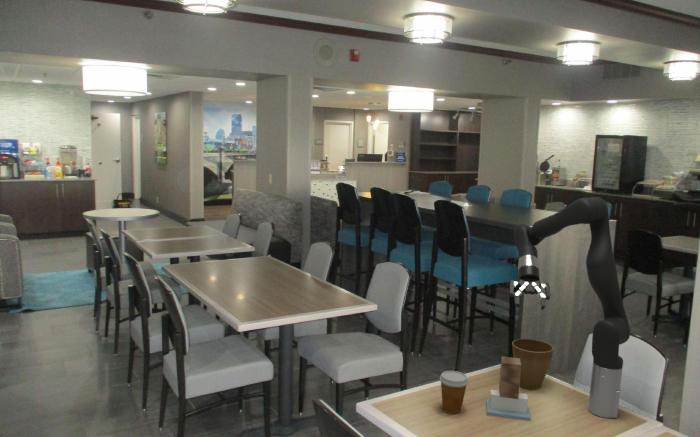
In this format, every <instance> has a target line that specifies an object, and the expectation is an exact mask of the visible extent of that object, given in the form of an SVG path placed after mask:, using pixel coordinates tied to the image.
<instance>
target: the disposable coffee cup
mask: <svg viewBox="0 0 700 437" xmlns="http://www.w3.org/2000/svg"><path fill="white" fill-rule="evenodd" d="M439 381H440V385H441V386H440V387H441V389H440V390H441V404H442V405H441V406H442V411H444V412H446V413H449V414H459V413H461V412H462V408H463V403H464V400H465V394H466V388H467V385H468V384H469V379H468V376H467V375H466V374H464V373H463V372H461V371H457V370H456V371H455V370H445V371H442V373H441V374H440V376H439Z"/></svg>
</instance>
